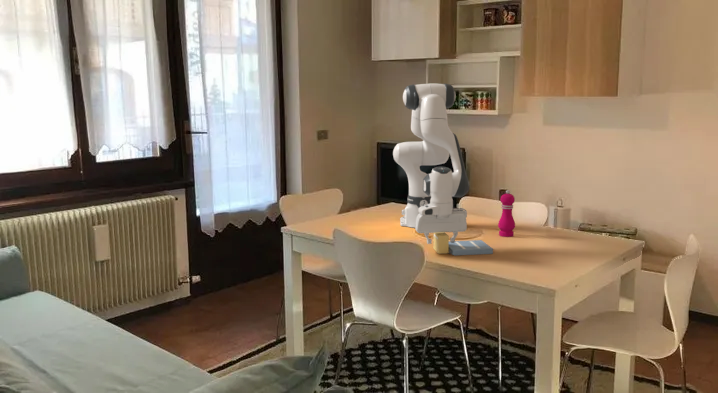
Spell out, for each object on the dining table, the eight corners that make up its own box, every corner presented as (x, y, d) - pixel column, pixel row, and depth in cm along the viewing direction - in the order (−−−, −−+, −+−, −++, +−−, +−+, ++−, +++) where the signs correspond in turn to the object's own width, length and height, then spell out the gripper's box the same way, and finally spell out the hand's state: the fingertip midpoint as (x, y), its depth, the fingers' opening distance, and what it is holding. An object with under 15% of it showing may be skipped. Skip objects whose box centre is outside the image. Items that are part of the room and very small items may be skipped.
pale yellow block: (433, 248, 266) (433, 231, 265) (443, 248, 267) (443, 231, 266) (438, 253, 259) (438, 236, 257) (448, 253, 259) (448, 235, 258)
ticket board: (441, 246, 270) (441, 241, 270) (481, 244, 272) (481, 239, 272) (451, 255, 256) (451, 250, 256) (492, 253, 259) (492, 248, 258)
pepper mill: (494, 234, 290) (496, 189, 287) (508, 232, 293) (510, 188, 289) (503, 237, 284) (505, 191, 280) (518, 236, 286) (519, 190, 282)
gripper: (464, 206, 264) (463, 240, 267) (414, 208, 261) (414, 242, 264) (469, 209, 258) (468, 243, 260) (418, 211, 255) (417, 246, 258)
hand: (440, 243), depth 262 cm, fingers open, 8 cm apart
